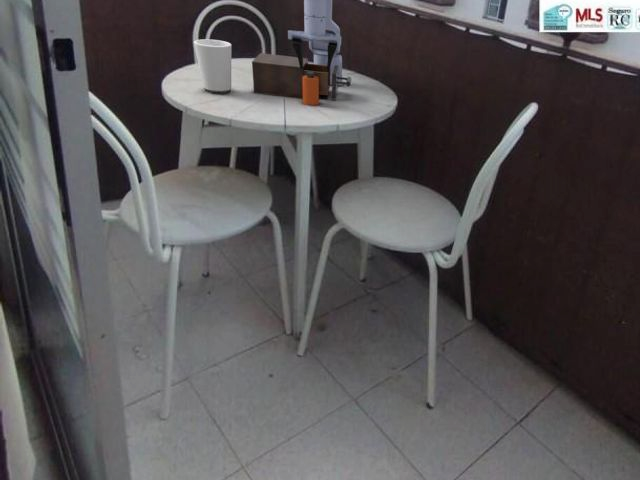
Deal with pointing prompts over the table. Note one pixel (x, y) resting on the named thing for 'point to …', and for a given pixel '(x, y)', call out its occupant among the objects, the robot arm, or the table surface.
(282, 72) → the cabinet
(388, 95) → the table surface
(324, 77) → the drawer
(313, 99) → the bottle
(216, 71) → the cup
